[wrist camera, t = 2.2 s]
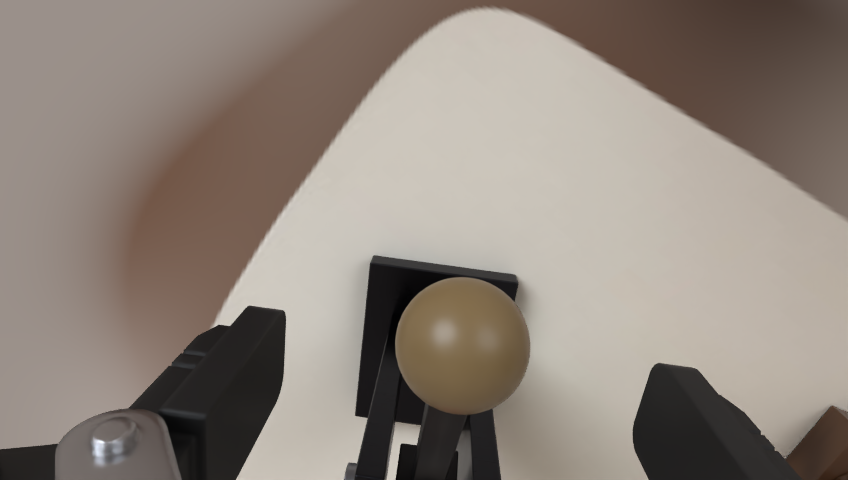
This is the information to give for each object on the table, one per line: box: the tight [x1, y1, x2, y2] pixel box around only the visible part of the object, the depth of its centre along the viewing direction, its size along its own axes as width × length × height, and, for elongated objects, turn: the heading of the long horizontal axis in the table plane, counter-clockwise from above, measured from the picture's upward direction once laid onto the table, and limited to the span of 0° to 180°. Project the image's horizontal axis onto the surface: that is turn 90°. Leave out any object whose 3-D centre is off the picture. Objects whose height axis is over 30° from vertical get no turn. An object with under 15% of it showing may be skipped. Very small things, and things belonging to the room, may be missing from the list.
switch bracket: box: [344, 256, 518, 480], centre depth 23 cm, size 10×8×13 cm
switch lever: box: [395, 277, 530, 480], centre depth 15 cm, size 13×3×3 cm, turn 172°
